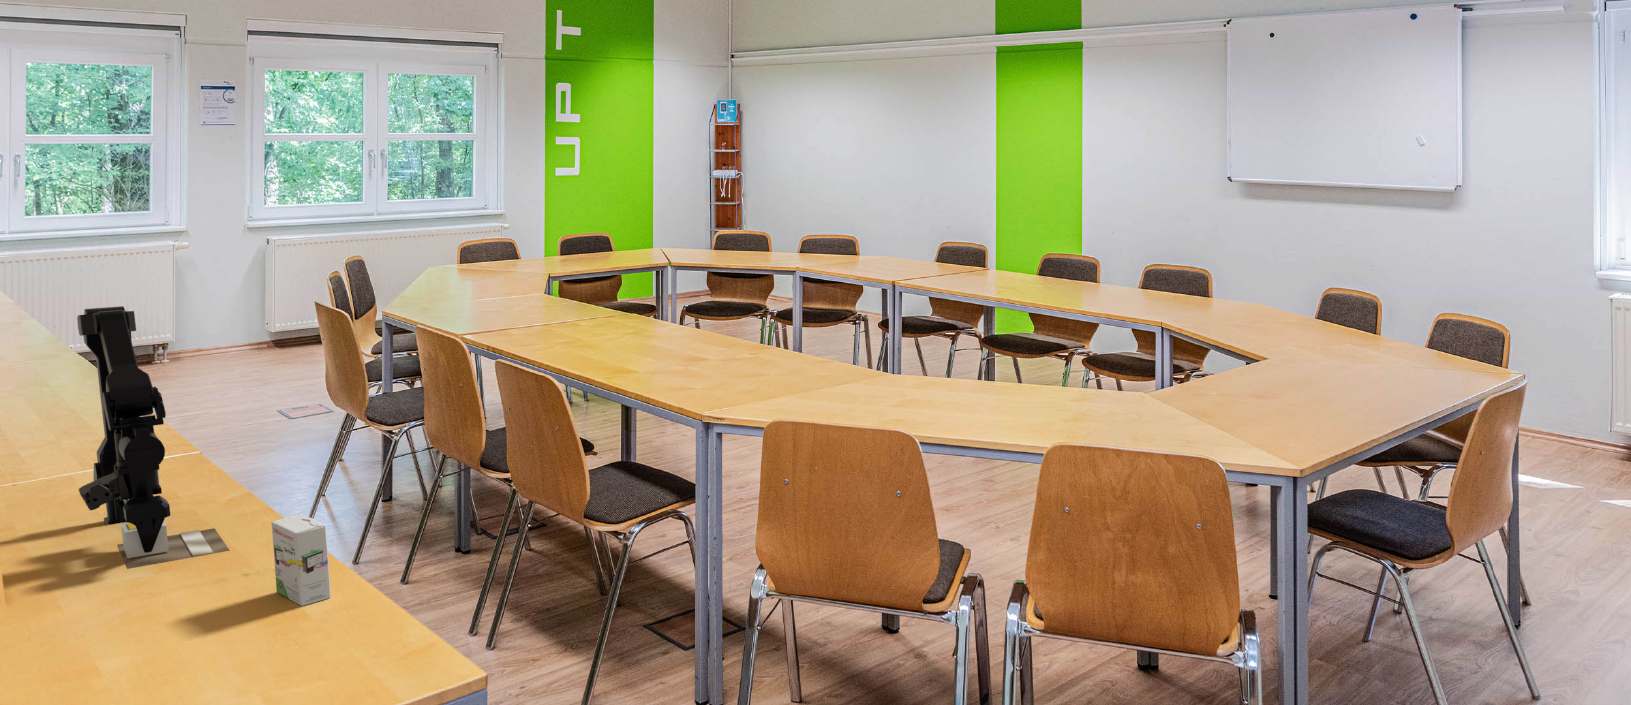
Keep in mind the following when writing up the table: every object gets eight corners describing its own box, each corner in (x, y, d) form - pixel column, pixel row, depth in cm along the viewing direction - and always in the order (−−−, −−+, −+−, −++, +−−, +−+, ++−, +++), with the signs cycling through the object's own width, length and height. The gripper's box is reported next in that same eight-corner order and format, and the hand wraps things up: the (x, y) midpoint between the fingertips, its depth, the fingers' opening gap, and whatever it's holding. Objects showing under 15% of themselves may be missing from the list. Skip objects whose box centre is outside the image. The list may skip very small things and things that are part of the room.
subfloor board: (118, 551, 203) (117, 543, 203) (215, 534, 212) (214, 527, 212) (128, 575, 192) (127, 567, 192) (230, 557, 201) (229, 549, 200)
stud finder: (123, 550, 200) (121, 523, 199) (164, 543, 203) (161, 516, 202) (127, 558, 196) (124, 531, 195) (168, 551, 199) (166, 524, 198)
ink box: (275, 593, 185) (269, 520, 183) (306, 584, 189) (300, 512, 187) (301, 607, 180) (295, 532, 177) (332, 597, 183) (327, 524, 181)
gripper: (74, 452, 199) (84, 541, 202) (85, 478, 184) (95, 574, 187) (150, 442, 206) (158, 529, 209) (166, 467, 191) (175, 560, 194)
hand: (145, 547), depth 199 cm, fingers closed on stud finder, 5 cm apart
